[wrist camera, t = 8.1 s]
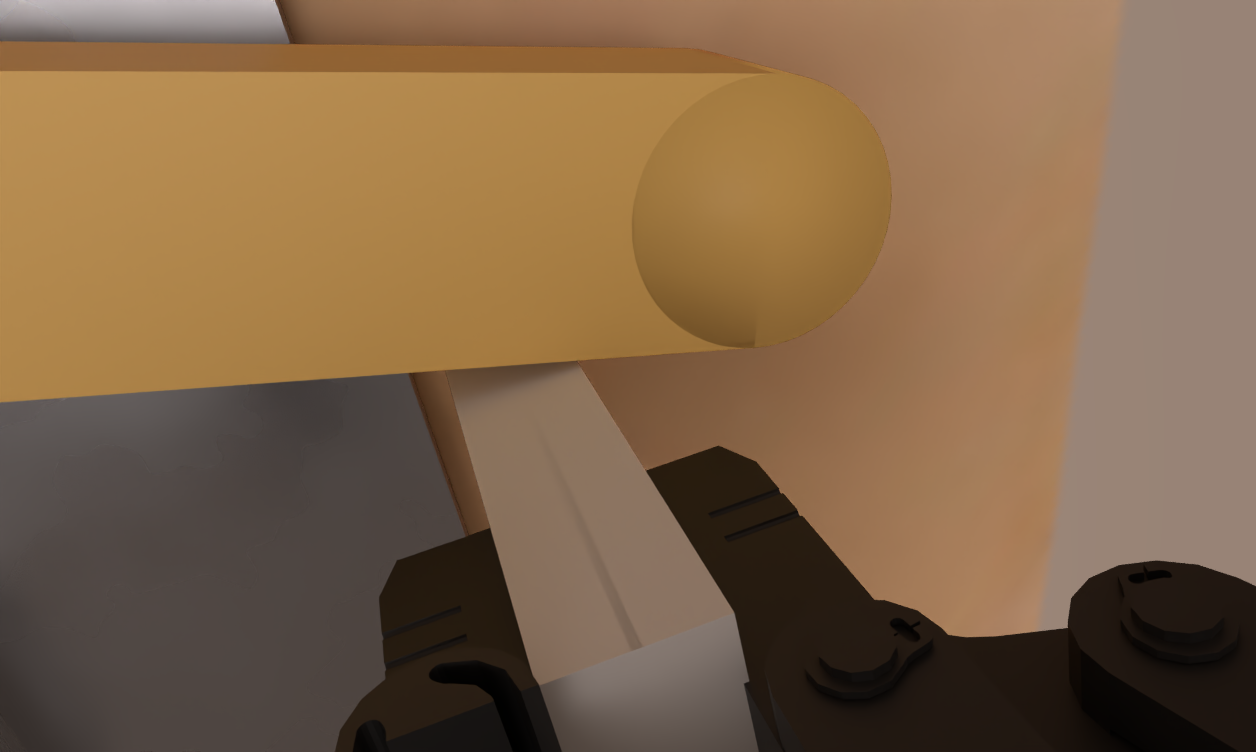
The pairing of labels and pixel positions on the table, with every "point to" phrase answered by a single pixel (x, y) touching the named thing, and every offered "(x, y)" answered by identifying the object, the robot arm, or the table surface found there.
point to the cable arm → (412, 209)
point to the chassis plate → (202, 519)
